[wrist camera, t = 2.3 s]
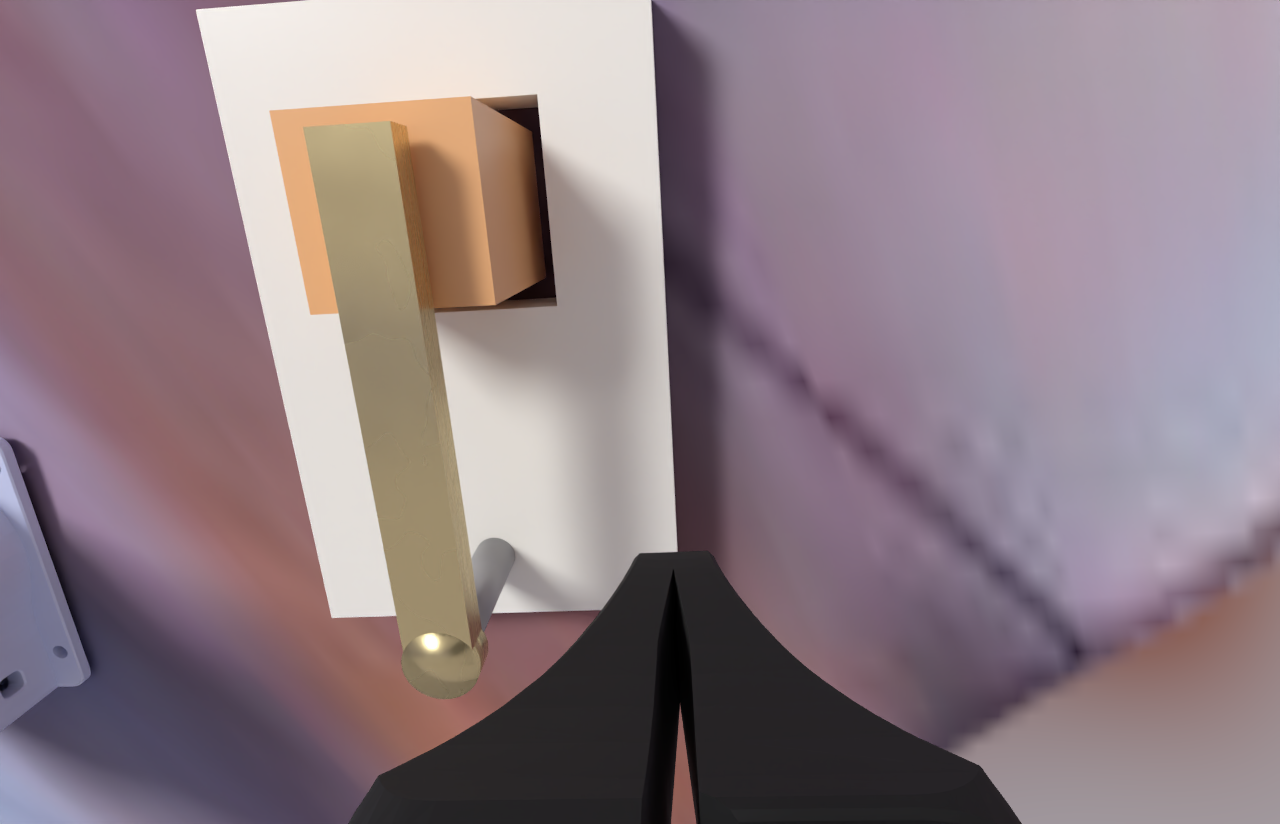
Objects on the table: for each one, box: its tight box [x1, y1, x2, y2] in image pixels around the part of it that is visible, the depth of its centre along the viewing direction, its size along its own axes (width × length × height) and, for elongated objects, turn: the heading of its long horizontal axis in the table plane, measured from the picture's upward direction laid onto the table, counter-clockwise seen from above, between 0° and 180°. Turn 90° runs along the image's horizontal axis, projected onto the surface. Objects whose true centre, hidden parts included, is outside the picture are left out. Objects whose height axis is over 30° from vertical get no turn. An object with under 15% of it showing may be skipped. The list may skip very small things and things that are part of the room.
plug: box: [269, 96, 546, 315], centre depth 16 cm, size 4×4×6 cm
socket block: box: [196, 0, 678, 632], centre depth 17 cm, size 17×11×6 cm, turn 3°
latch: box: [303, 121, 488, 699], centre depth 14 cm, size 12×2×1 cm, turn 3°
